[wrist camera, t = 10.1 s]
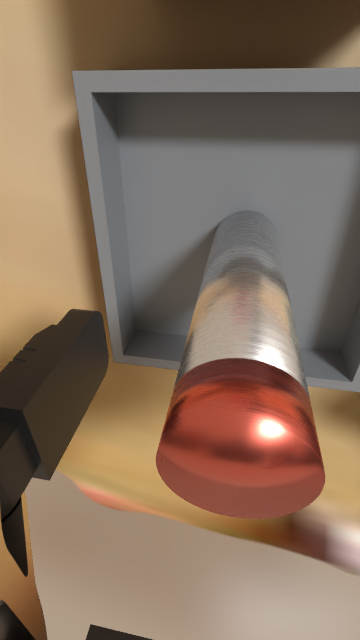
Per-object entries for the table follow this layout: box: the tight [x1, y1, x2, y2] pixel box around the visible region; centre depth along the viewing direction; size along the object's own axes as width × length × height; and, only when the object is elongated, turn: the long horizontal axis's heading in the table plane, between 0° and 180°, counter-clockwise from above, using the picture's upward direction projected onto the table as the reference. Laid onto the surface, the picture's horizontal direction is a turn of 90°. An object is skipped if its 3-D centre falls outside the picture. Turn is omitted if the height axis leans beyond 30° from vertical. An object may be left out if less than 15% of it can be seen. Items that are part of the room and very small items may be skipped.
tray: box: [72, 67, 360, 392], centre depth 15 cm, size 13×13×3 cm
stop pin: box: [156, 210, 325, 519], centre depth 11 cm, size 3×3×12 cm
